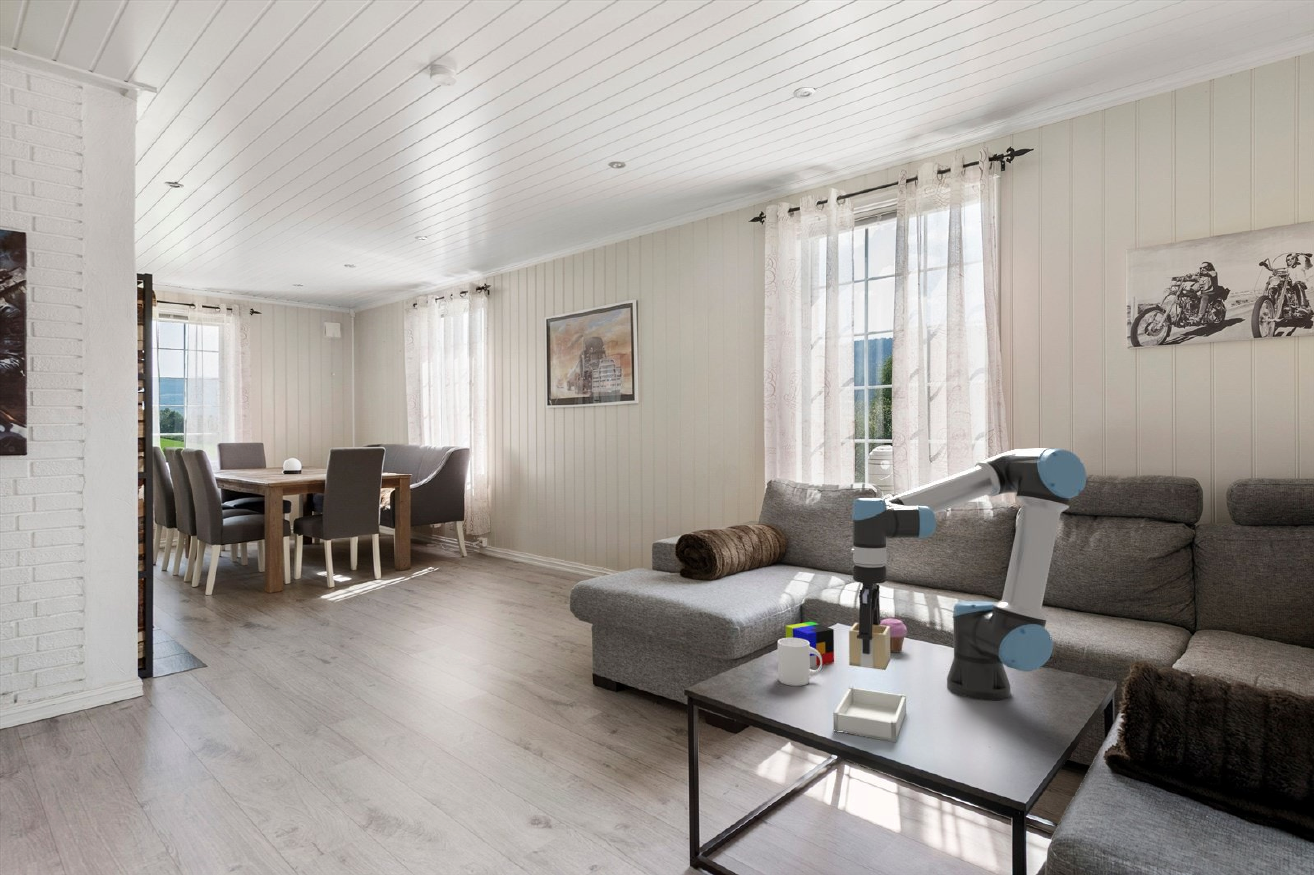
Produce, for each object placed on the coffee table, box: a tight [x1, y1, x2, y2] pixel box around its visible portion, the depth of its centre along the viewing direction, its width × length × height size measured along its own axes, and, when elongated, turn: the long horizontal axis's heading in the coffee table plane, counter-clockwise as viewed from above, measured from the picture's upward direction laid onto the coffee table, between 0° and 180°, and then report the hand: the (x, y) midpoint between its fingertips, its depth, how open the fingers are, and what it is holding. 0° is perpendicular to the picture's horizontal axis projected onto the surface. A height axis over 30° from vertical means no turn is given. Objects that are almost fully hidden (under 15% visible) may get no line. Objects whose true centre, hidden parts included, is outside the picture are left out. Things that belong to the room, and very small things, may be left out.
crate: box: [833, 686, 907, 743], centre depth 161 cm, size 13×19×4 cm
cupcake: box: [879, 617, 908, 653], centre depth 216 cm, size 9×9×10 cm
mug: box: [777, 637, 823, 687], centre depth 189 cm, size 9×12×11 cm
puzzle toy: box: [785, 621, 835, 668], centre depth 206 cm, size 10×10×10 cm
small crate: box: [848, 622, 891, 671], centre depth 161 cm, size 8×8×8 cm
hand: (870, 661), depth 161 cm, fingers closed on small crate, 8 cm apart
